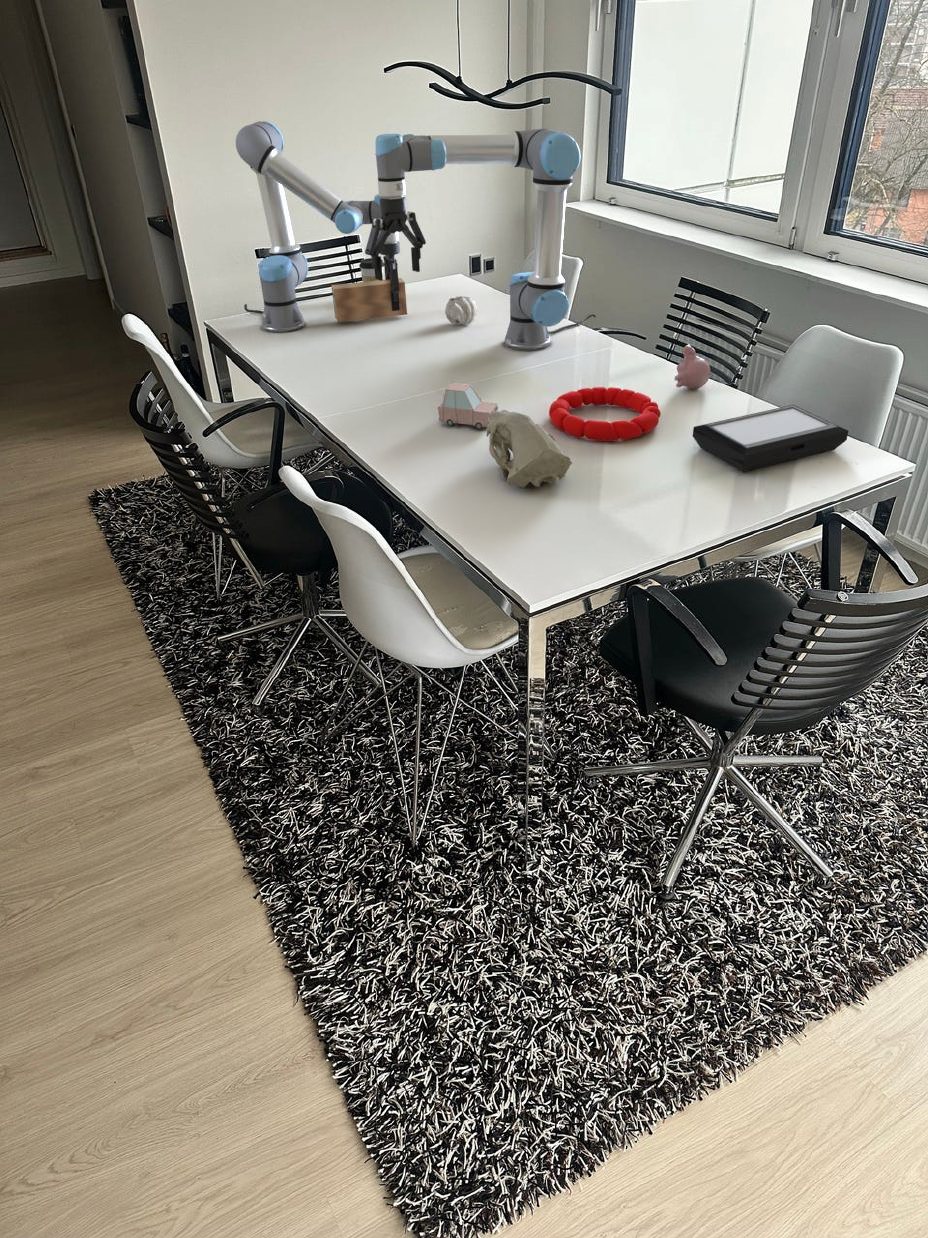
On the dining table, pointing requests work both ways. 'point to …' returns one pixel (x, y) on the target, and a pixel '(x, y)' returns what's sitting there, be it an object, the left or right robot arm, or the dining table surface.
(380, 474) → the dining table surface
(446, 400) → the toy car
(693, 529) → the dining table surface
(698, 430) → the electronic device
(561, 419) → the decorative ring
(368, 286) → the box
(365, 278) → the coffee cup
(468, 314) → the seashell
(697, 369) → the figurine
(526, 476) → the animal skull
